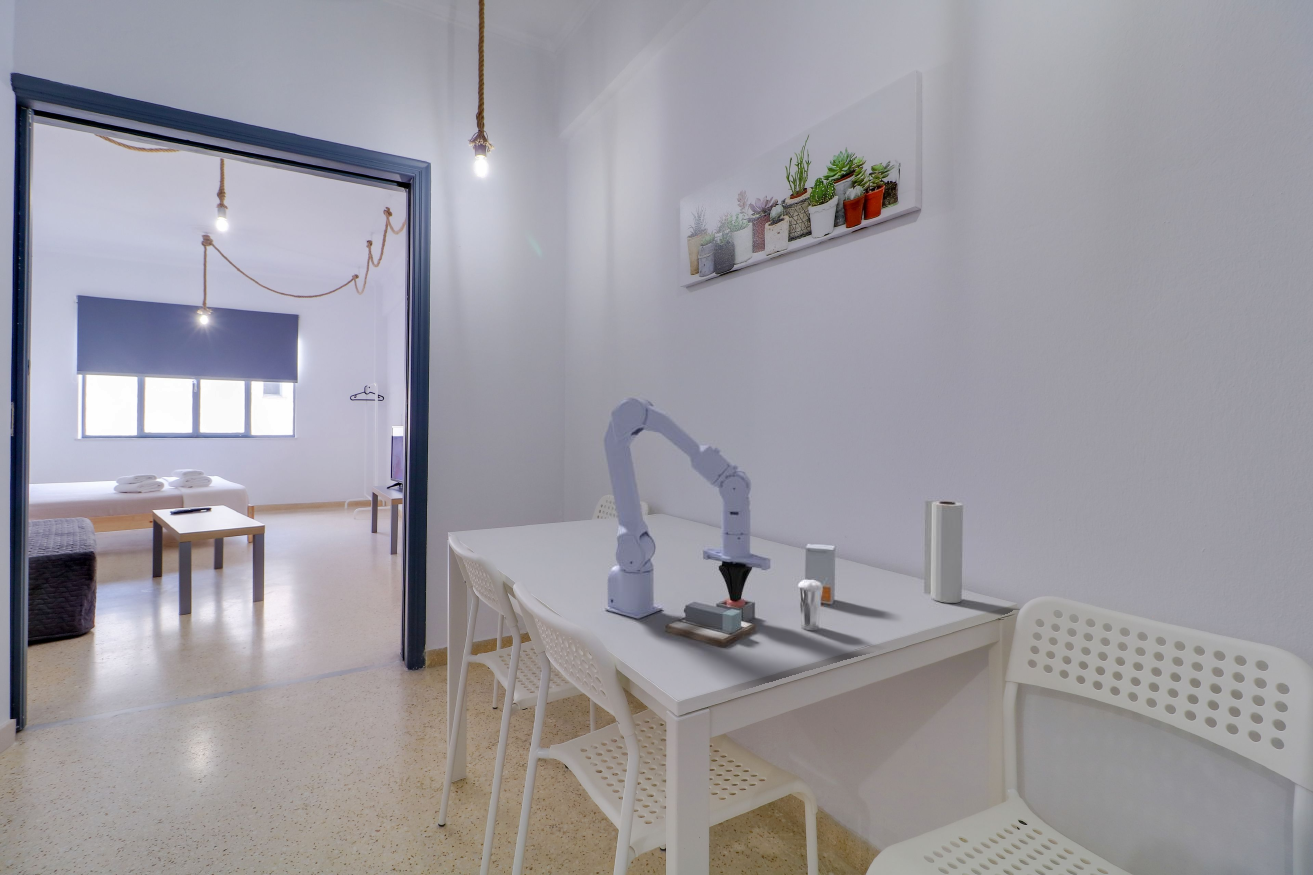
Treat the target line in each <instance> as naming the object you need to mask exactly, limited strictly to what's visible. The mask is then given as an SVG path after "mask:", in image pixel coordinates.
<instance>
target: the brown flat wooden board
mask: <svg viewBox="0 0 1313 875" xmlns="http://www.w3.org/2000/svg"><path fill="white" fill-rule="evenodd" d="M664 628H665V632H667V633H670V634H674V635H678V636H682V637H686V638H689V639H692V640H695V641H699V642H703V643H707V644H709V645H713V646H716V647H717V646H718V647H721V648H723V649H724V648H726V647H727V646H729V645H731V644H733V643H735V642H737V641H738V640H740V639H741V638H744V637H746V636H747V635H749V634H751V633H753V632H755V631H756V624H755V623H749V622H742V621H741V629H739V630H737V631H735V632H733V633H730V632H726V631H723V630H719V629H715V628H711V627H707V626H703V625H699V624H695V623H691V622H687V621H685V616H684V617H682V618H680V619H678V620H675V621H672V622H670V623H669V624H666V625H665V627H664Z"/></svg>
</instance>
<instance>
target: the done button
mask: <svg viewBox="0 0 1313 875" xmlns="http://www.w3.org/2000/svg"><path fill="white" fill-rule="evenodd" d="M726 599H727V605H729V606H733V607H737V608H740V607H743V606H745V600H746V599H744V598H742V597H741V600H738V601H736V602H735V601H731V600H730V597H728V598H726Z"/></svg>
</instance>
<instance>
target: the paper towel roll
mask: <svg viewBox="0 0 1313 875" xmlns="http://www.w3.org/2000/svg"><path fill="white" fill-rule="evenodd" d="M924 502H925V503H924V504H925V507H924V508H925V509H924V514H925V517H924V586H923V587H924V588H923V589H924V592H923V593H924V594H929V595H930V598H931V600H934V601H937V602H941V603H947V604H958V603H961V602H962V597H963V596H962V594H963V592H962V590H963V588H962V586H963V535H964V534H963V530H964V529H963V523H964V519H963V518H964V511H963V510H964V504H963V503H961V502H955V501H943V500H942V501H940V500H925V501H924Z"/></svg>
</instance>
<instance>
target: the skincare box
mask: <svg viewBox="0 0 1313 875" xmlns="http://www.w3.org/2000/svg"><path fill="white" fill-rule="evenodd" d="M836 548H837V547H836V546H835V545H832V544H831V545H830V544H829V545H827V544H820V543H819V544H818V543H817V544H815V543H813V544H812V543H807V544H806V546H805V554H804V555H805V558H804V559H805V564H804V565H805V566H804V580H815V581H818V582H820V583H821V584H822V586H823V590H822V599H821V604H827V605H833V603H834V601H835V592H836V591H835V590H836V588H835V586H836V585H835V584H836V581H835V580H836ZM826 578H827V579H826ZM825 580H826V581H825ZM824 582H825V583H824ZM823 584H824V585H823Z"/></svg>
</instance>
